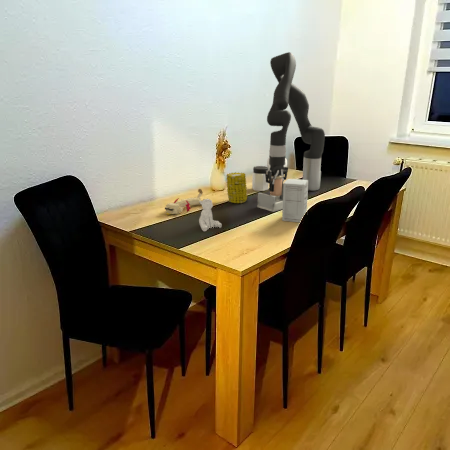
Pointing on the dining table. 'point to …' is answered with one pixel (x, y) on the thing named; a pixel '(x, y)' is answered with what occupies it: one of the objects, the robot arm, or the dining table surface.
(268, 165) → the cup
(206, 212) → the seated beast figurine
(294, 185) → the supplement box
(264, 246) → the dining table surface
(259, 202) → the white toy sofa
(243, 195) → the yellow woven basket
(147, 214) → the dining table surface
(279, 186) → the jar small
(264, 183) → the jar
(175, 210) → the cat figure
